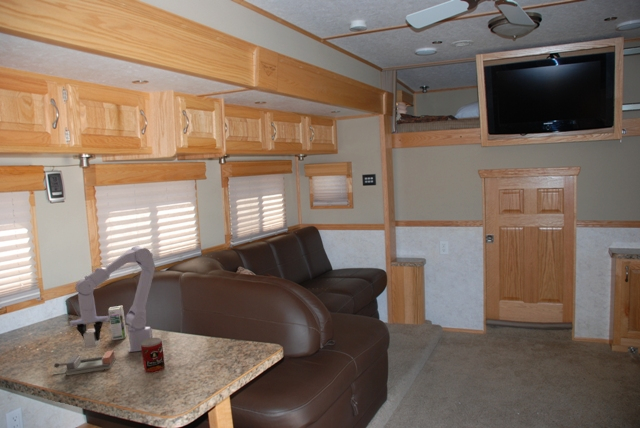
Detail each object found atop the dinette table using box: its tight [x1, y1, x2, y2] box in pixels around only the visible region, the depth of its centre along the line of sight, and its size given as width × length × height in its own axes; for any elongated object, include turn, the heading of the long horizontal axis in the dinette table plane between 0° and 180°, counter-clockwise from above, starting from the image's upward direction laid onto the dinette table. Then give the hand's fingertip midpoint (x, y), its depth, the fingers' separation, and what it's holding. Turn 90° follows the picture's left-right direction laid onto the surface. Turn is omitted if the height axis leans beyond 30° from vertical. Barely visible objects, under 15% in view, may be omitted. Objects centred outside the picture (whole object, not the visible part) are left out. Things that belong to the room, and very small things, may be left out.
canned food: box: [141, 337, 166, 374], centre depth 194 cm, size 8×8×11 cm
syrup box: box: [107, 305, 127, 341], centre depth 234 cm, size 6×6×14 cm
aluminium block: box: [83, 327, 101, 350], centre depth 206 cm, size 4×7×6 cm, turn 10°
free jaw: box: [102, 349, 116, 365], centre depth 203 cm, size 3×8×3 cm, turn 10°
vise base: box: [53, 354, 116, 376], centre depth 201 cm, size 22×10×4 cm, turn 100°
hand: (92, 340), depth 206 cm, fingers closed on aluminium block, 4 cm apart
